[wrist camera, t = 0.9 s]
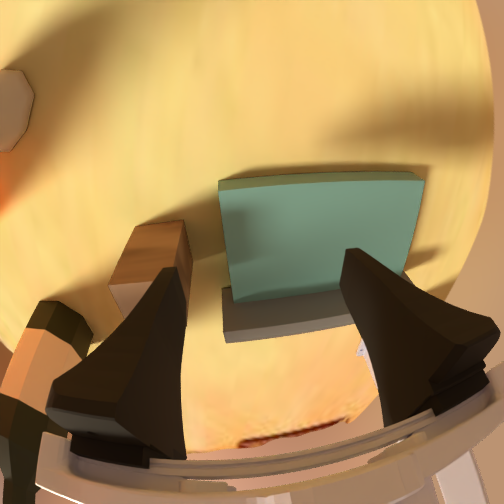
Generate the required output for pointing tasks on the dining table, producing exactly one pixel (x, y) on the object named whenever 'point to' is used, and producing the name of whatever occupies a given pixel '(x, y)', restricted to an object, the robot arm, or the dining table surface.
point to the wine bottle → (36, 392)
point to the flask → (13, 107)
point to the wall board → (308, 245)
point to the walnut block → (151, 262)
